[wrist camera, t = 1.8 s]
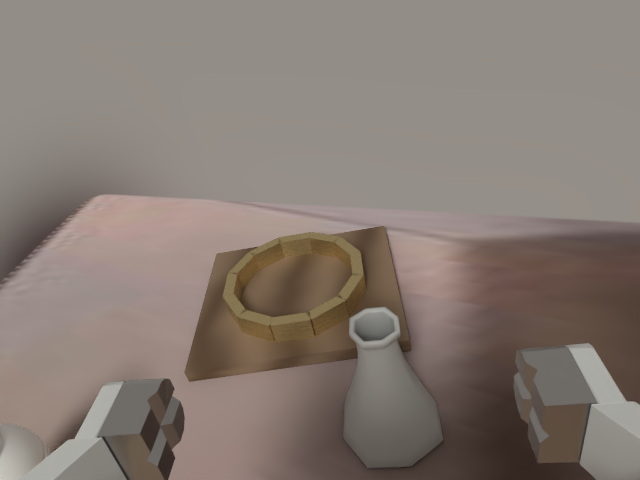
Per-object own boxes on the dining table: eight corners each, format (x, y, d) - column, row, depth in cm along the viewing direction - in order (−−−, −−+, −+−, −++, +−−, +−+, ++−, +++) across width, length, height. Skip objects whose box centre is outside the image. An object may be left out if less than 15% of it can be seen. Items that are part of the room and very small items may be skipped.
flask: (330, 401, 38) (303, 305, 32) (417, 370, 39) (406, 272, 33) (359, 487, 32) (333, 389, 27) (462, 450, 33) (457, 346, 27)
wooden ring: (359, 240, 53) (356, 224, 52) (371, 328, 42) (368, 311, 41) (239, 259, 54) (234, 244, 53) (221, 350, 43) (214, 334, 42)
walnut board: (385, 234, 55) (384, 225, 54) (411, 350, 41) (409, 340, 40) (219, 262, 56) (216, 253, 56) (189, 381, 42) (184, 372, 42)
